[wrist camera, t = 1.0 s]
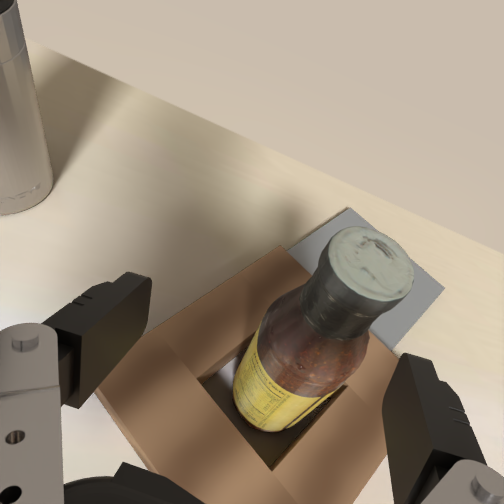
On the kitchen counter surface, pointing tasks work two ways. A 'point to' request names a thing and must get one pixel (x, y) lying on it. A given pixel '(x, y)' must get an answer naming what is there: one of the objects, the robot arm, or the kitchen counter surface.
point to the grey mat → (404, 313)
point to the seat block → (217, 423)
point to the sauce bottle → (320, 329)
